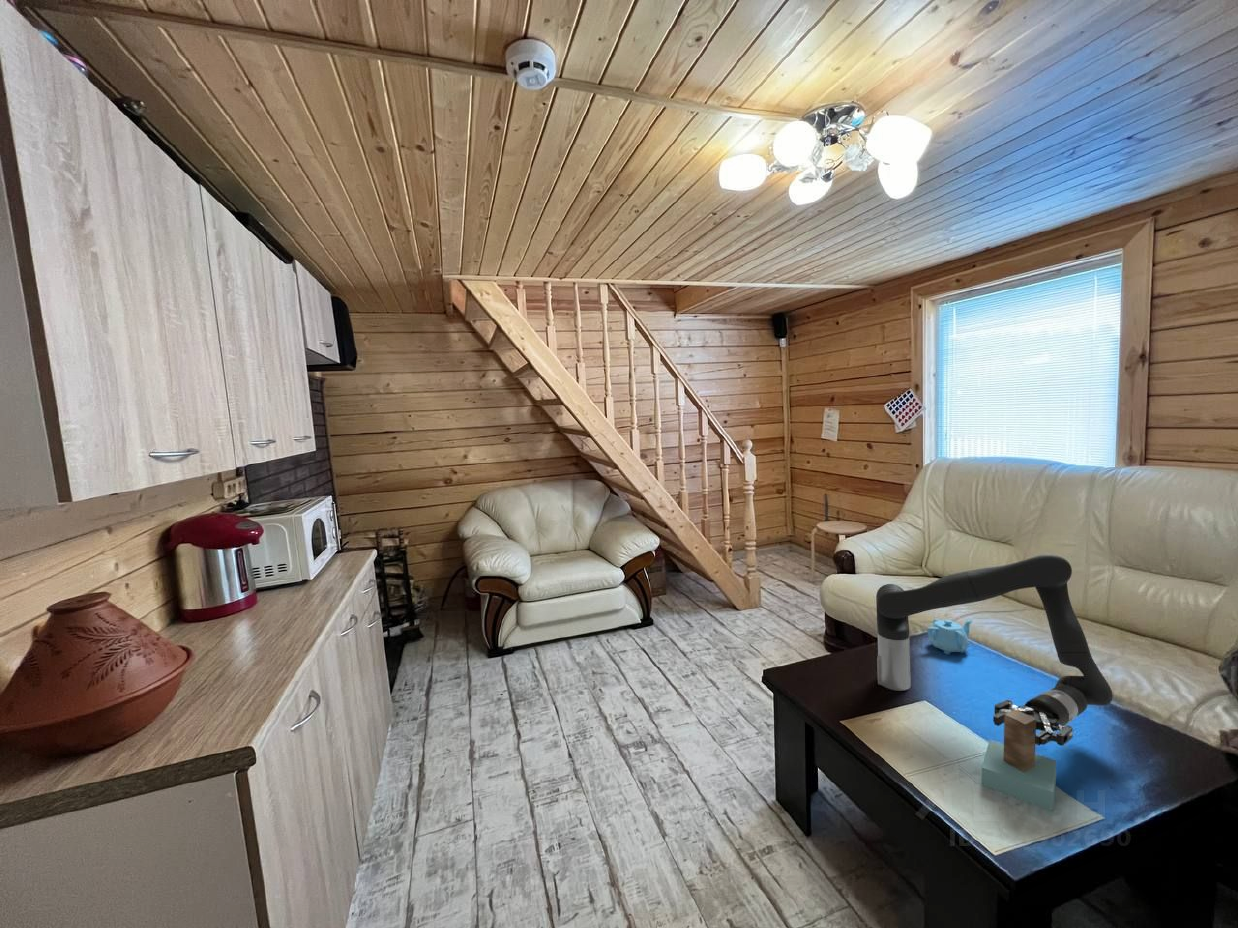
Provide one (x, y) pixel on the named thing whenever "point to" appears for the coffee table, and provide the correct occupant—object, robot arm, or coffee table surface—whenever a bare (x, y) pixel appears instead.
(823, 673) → the coffee table surface
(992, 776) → the teal block
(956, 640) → the teapot
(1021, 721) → the walnut pillar
